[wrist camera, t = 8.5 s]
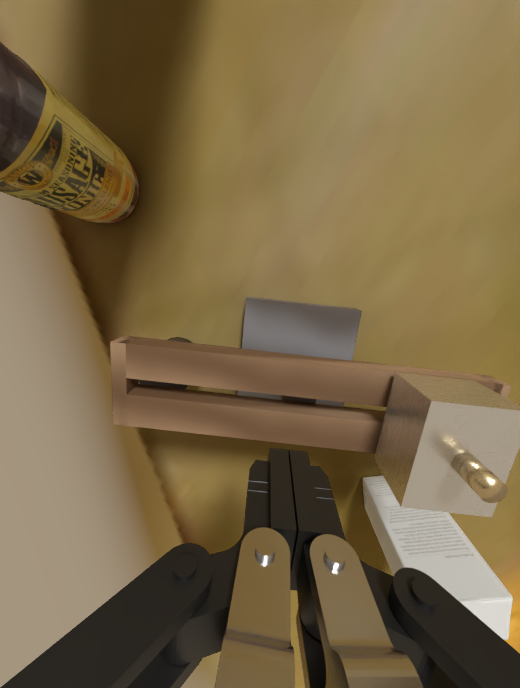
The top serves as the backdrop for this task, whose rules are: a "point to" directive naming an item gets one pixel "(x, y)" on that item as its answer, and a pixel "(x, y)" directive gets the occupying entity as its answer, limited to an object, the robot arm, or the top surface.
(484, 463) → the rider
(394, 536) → the skincare box
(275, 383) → the balance beam
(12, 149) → the sauce bottle
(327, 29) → the top surface
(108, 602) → the robot arm
